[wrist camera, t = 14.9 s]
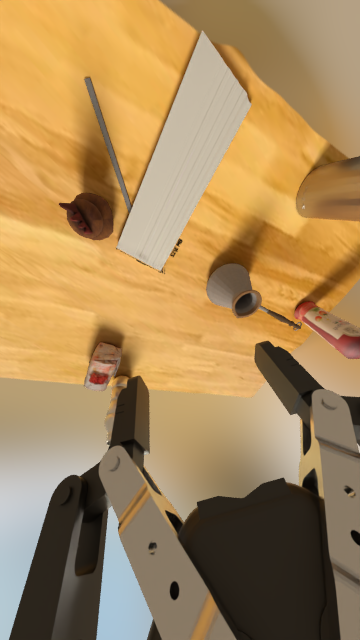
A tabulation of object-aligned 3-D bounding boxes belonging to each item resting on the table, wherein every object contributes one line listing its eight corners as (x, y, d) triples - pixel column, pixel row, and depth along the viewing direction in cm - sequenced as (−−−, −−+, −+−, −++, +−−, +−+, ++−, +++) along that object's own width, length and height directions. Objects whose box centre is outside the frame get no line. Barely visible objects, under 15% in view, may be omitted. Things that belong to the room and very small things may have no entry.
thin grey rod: (90, 78, 23) (89, 77, 23) (138, 227, 34) (137, 227, 34) (84, 79, 23) (84, 79, 23) (134, 228, 34) (134, 228, 34)
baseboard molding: (254, 115, 28) (199, 39, 23) (264, 107, 26) (205, 20, 21) (165, 272, 41) (117, 246, 36) (166, 276, 38) (115, 249, 33)
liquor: (290, 320, 57) (385, 396, 34) (292, 303, 53) (402, 376, 30) (310, 313, 57) (420, 385, 34) (314, 295, 52) (442, 363, 30)
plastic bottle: (115, 385, 61) (103, 449, 45) (111, 373, 58) (96, 439, 41) (132, 383, 62) (127, 445, 46) (130, 371, 59) (123, 435, 42)
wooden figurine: (78, 194, 30) (31, 185, 18) (111, 195, 31) (88, 187, 19) (89, 235, 34) (56, 251, 22) (118, 235, 35) (102, 251, 22)
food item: (97, 337, 48) (87, 363, 40) (124, 344, 51) (120, 369, 43) (88, 367, 54) (78, 395, 46) (113, 371, 57) (107, 398, 49)
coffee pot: (196, 293, 45) (213, 325, 33) (217, 252, 40) (248, 272, 28) (253, 314, 53) (284, 347, 41) (277, 283, 48) (322, 309, 35)
